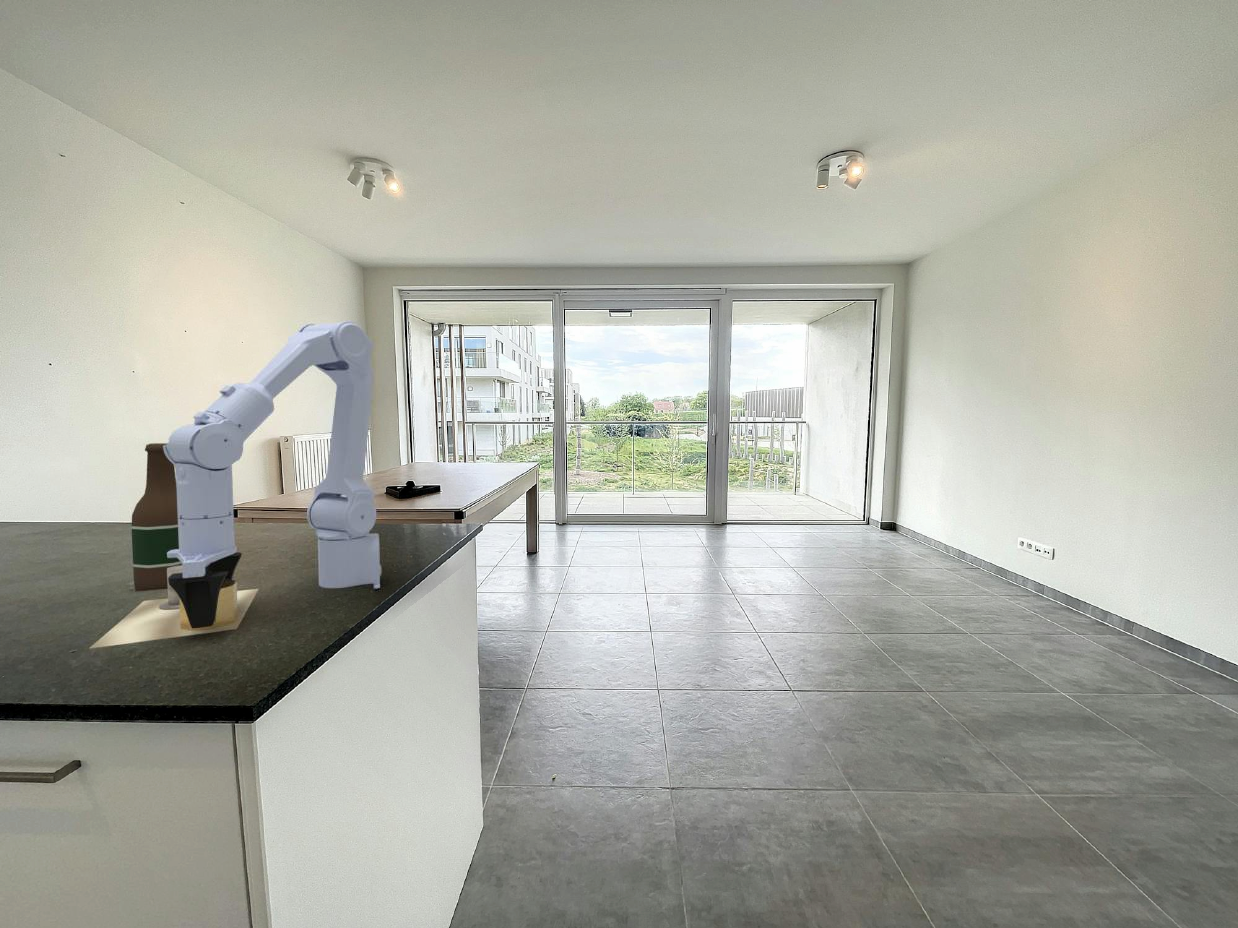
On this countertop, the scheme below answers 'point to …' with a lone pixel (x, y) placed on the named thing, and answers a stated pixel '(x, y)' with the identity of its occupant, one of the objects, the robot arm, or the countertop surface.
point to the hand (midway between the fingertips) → (210, 616)
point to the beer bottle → (155, 523)
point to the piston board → (164, 619)
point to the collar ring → (218, 608)
